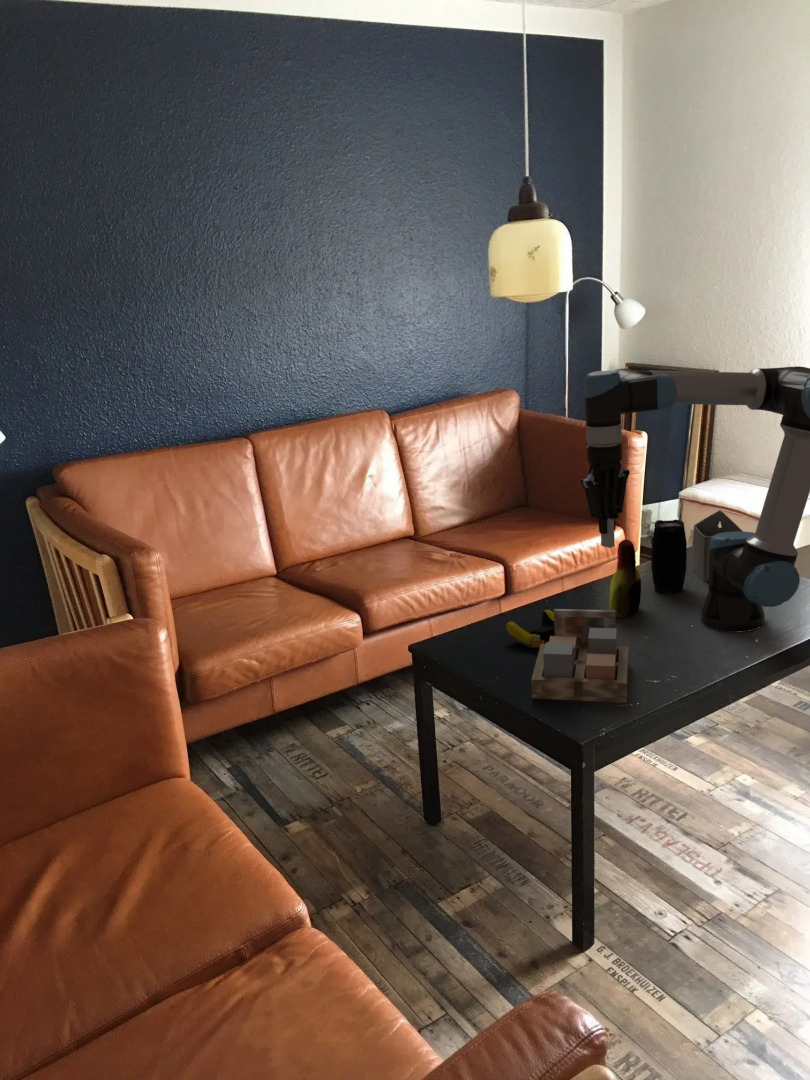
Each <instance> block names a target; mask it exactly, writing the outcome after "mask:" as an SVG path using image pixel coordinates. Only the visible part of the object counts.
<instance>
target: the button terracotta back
mask: <svg viewBox="0 0 810 1080" xmlns="http://www.w3.org/2000/svg"><path fill="white" fill-rule="evenodd" d="M549 642H552V643H574V660H577V637H567V636H550V640H549Z"/></svg>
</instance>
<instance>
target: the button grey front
mask: <svg viewBox="0 0 810 1080" xmlns="http://www.w3.org/2000/svg"><path fill="white" fill-rule="evenodd" d="M543 661H544V677H559V678H572V677H573V671H574V643H552V642H546V645H545V649H544V653H543Z"/></svg>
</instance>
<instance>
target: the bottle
mask: <svg viewBox="0 0 810 1080" xmlns="http://www.w3.org/2000/svg"><path fill="white" fill-rule="evenodd" d="M636 560H637V559H636V551H635V545H634V543H633V542H632V541H631V540H630V539H623V540H621V541H620V542H619V543H618V546H617V562H616V569H615V572H614V574H613V576H612V577H611V580H610V584H609V585H610V586H609V600H608V601H609V610H615V617H619V618H628V617H630V616H631V615H633V614H635V613H637V611H639V608H640V605H641V597H642V581H641V580H642V579H641V575H640V573H639V570H638V569H637V568H636V563H637V561H636Z"/></svg>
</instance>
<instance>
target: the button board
mask: <svg viewBox="0 0 810 1080" xmlns="http://www.w3.org/2000/svg"><path fill="white" fill-rule="evenodd" d="M553 613H554V630H555V636H567V637H577V660H574V671H573V677H572V678H559V677H544V661H543V653H544V649H545V645H546V644H541V645H540V648H539V651H538V654H537V657H536V661H535V664H534V668H533V673H532V677H531V699H539V700H541V699H543V700H559V701H560V700H563V701H580V702H581V701H582V702H583V701H584V702H600V703H601V702H603V703H604V702H605V703H624V704H625V703H627V699H628V680H629V646H624V645H623V646H621V645H619V646H618V645H617V658H616V680H606V679H586V661H587V654H588V636H589V630H590V628H616V616H615V610H610V609H578V608H577V609H576V608H575V609H574V608H573V609H571V608H569V609H568V608H567V609H565V608H553Z"/></svg>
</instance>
